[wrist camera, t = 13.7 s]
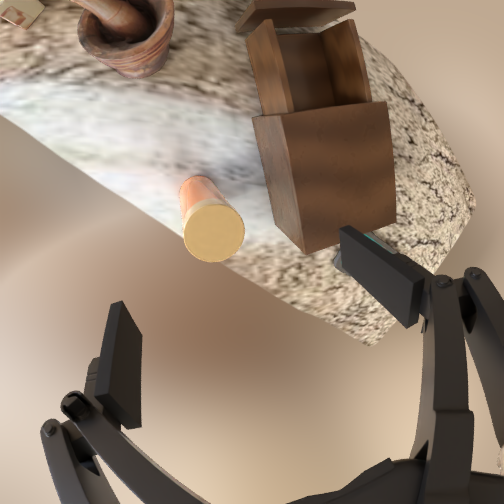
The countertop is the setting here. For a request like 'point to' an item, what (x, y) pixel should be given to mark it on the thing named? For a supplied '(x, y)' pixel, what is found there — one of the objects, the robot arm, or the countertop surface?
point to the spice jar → (209, 221)
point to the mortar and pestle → (127, 33)
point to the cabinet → (328, 171)
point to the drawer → (304, 55)
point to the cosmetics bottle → (20, 11)
